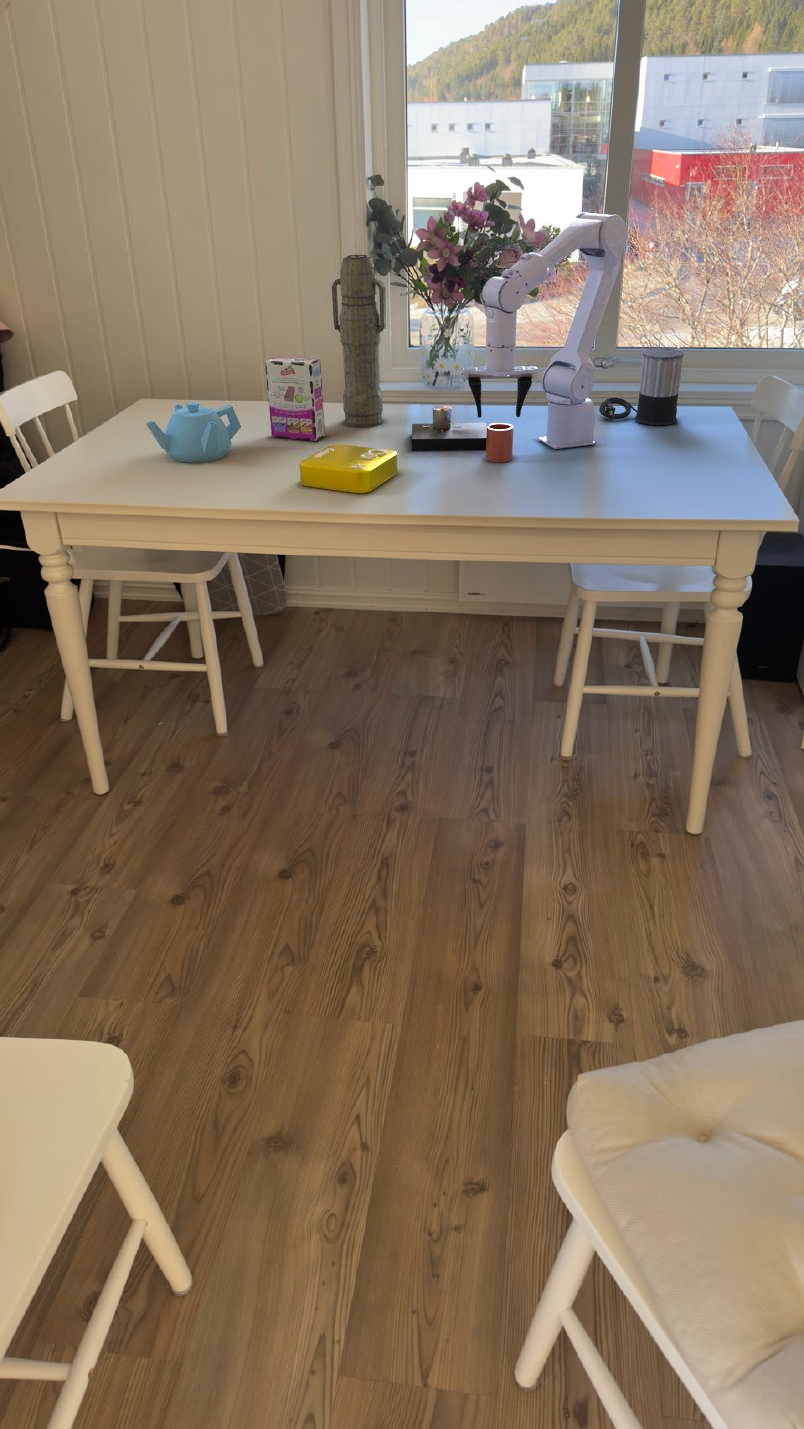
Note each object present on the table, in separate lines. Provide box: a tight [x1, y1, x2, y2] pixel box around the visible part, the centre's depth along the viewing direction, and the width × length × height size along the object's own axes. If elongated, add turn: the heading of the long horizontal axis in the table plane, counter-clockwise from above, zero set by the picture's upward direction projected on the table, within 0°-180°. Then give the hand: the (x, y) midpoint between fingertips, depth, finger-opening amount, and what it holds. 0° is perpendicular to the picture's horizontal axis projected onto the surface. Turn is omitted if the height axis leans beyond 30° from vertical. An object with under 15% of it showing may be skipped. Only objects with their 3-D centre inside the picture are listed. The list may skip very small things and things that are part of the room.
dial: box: [432, 405, 452, 429], centre depth 219 cm, size 4×4×4 cm
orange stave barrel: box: [485, 422, 514, 464], centre depth 207 cm, size 5×5×6 cm
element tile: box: [298, 443, 398, 494], centre depth 198 cm, size 15×15×5 cm
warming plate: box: [411, 422, 487, 452], centre depth 219 cm, size 16×13×3 cm
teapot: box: [145, 401, 242, 464], centre depth 212 cm, size 15×15×11 cm
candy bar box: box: [264, 356, 326, 442], centre depth 221 cm, size 11×5×16 cm, turn 68°
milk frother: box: [598, 347, 685, 426], centre depth 228 cm, size 14×16×15 cm
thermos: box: [331, 254, 387, 428], centre depth 226 cm, size 9×12×35 cm
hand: (498, 416), depth 204 cm, fingers open, 7 cm apart
